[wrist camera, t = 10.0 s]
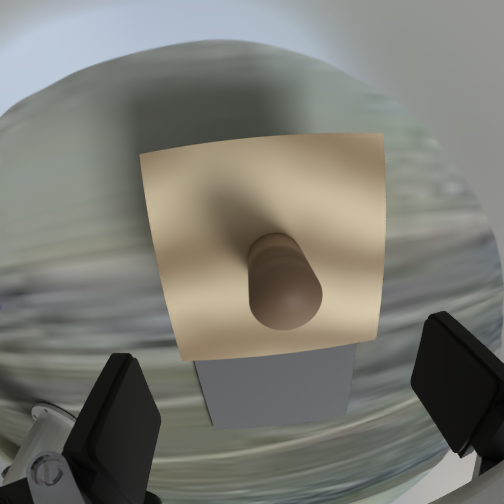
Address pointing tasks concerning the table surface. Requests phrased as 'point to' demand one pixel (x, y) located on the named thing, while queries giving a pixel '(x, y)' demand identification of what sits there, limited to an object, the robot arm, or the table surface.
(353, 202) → the lid
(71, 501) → the robot arm
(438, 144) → the table surface
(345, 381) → the mat
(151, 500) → the beer bottle
